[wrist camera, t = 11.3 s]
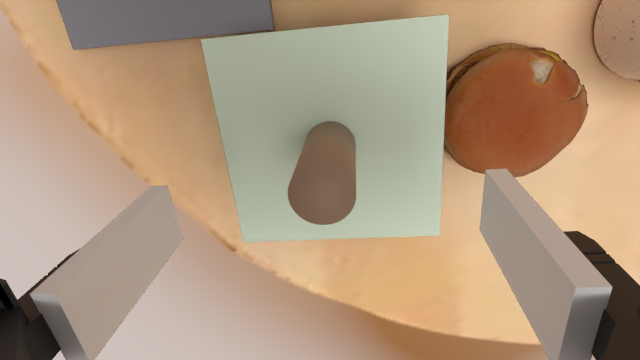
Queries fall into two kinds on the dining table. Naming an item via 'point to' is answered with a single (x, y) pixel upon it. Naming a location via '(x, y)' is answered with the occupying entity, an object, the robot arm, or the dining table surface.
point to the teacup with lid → (619, 37)
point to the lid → (334, 128)
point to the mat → (159, 20)
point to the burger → (512, 109)
